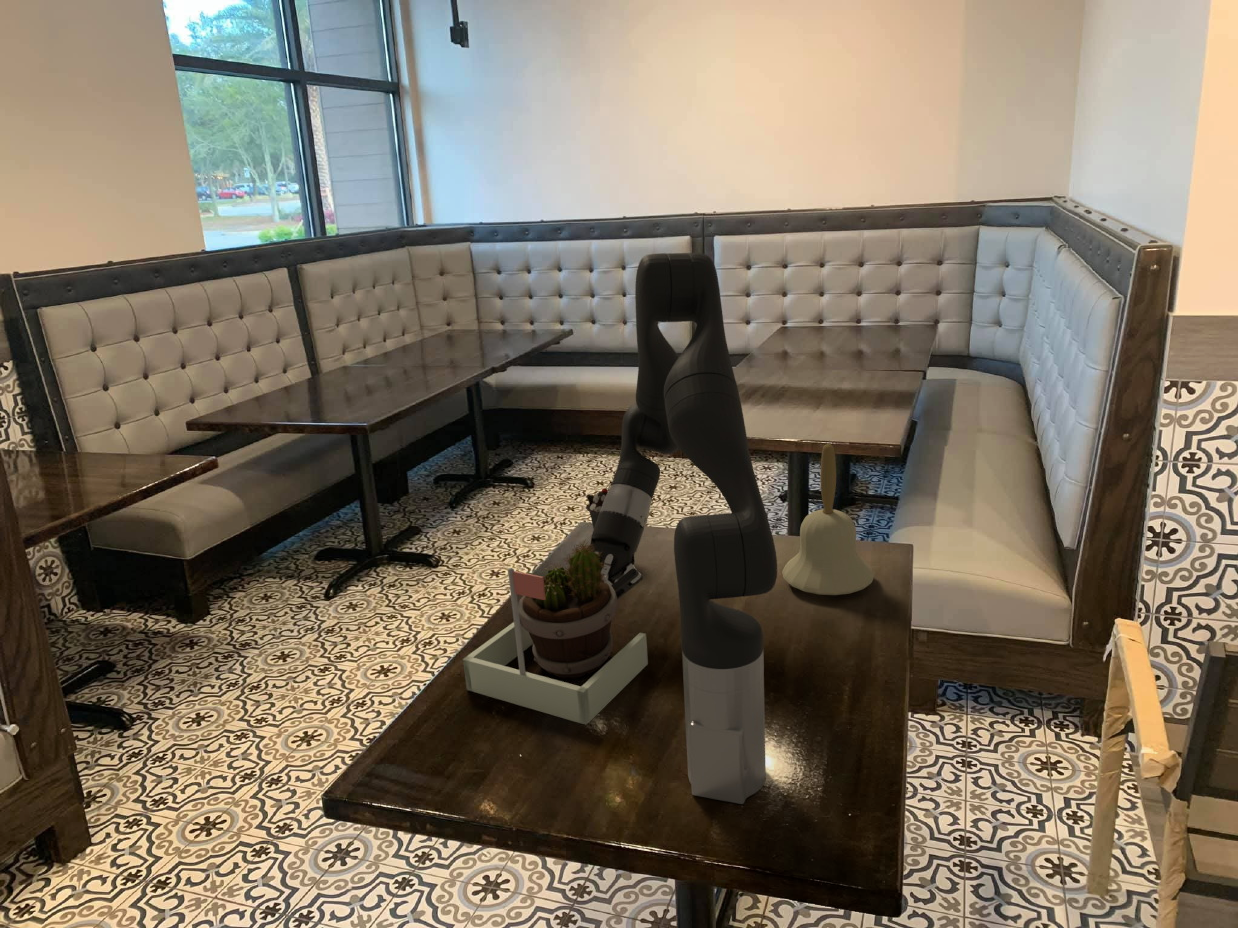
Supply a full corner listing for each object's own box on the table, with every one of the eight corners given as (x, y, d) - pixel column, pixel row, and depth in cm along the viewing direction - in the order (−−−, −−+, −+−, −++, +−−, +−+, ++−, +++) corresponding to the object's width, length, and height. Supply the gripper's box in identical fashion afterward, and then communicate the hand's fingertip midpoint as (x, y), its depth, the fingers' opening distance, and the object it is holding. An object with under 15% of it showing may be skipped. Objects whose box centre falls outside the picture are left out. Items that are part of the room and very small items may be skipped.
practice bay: (535, 636, 143) (522, 515, 137) (647, 663, 133) (639, 534, 127) (466, 689, 130) (448, 557, 123) (586, 724, 119) (573, 582, 113)
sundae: (629, 557, 170) (624, 483, 166) (596, 565, 168) (590, 489, 164) (617, 545, 176) (611, 473, 172) (584, 552, 174) (578, 479, 169)
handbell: (767, 592, 153) (765, 452, 145) (802, 558, 165) (801, 427, 157) (856, 610, 145) (858, 463, 137) (886, 573, 156) (889, 436, 149)
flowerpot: (512, 687, 130) (492, 565, 123) (543, 630, 144) (526, 517, 137) (610, 692, 127) (595, 566, 119) (632, 633, 140) (620, 517, 133)
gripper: (577, 503, 143) (539, 606, 137) (649, 514, 136) (613, 622, 130) (597, 522, 149) (562, 621, 143) (667, 534, 142) (634, 638, 136)
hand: (586, 622), depth 137 cm, fingers closed
